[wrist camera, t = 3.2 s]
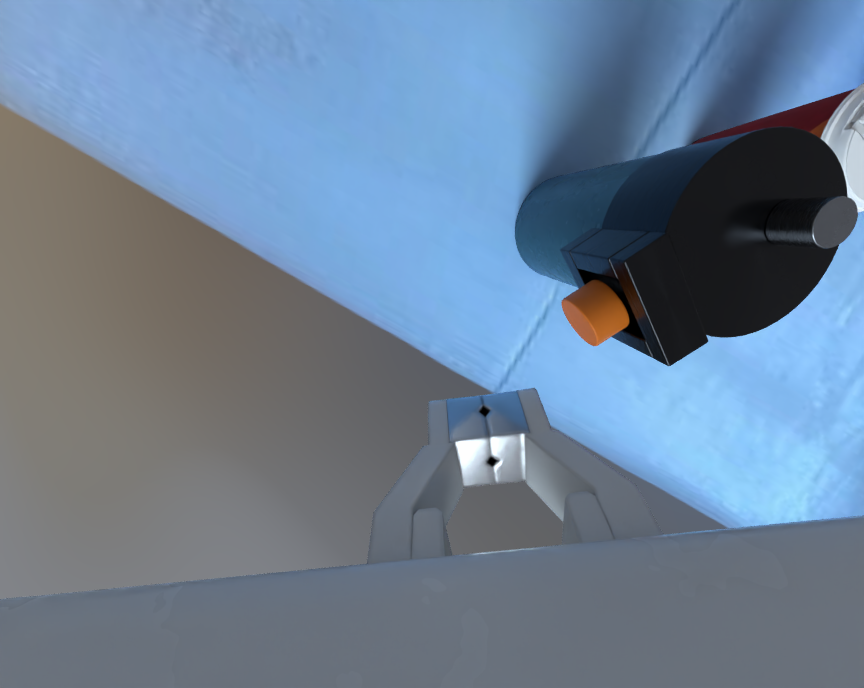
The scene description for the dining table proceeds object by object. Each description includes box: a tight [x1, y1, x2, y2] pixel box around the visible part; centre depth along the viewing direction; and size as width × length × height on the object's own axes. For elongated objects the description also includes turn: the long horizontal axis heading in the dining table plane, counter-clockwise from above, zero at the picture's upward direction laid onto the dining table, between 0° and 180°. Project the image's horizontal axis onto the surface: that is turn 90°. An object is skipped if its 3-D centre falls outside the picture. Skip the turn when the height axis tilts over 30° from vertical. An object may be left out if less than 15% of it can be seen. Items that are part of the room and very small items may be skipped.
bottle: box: [515, 126, 858, 366], centre depth 25 cm, size 11×9×21 cm
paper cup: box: [691, 83, 864, 212], centre depth 28 cm, size 8×8×14 cm
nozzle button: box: [562, 280, 629, 346], centre depth 20 cm, size 2×3×3 cm, turn 33°
